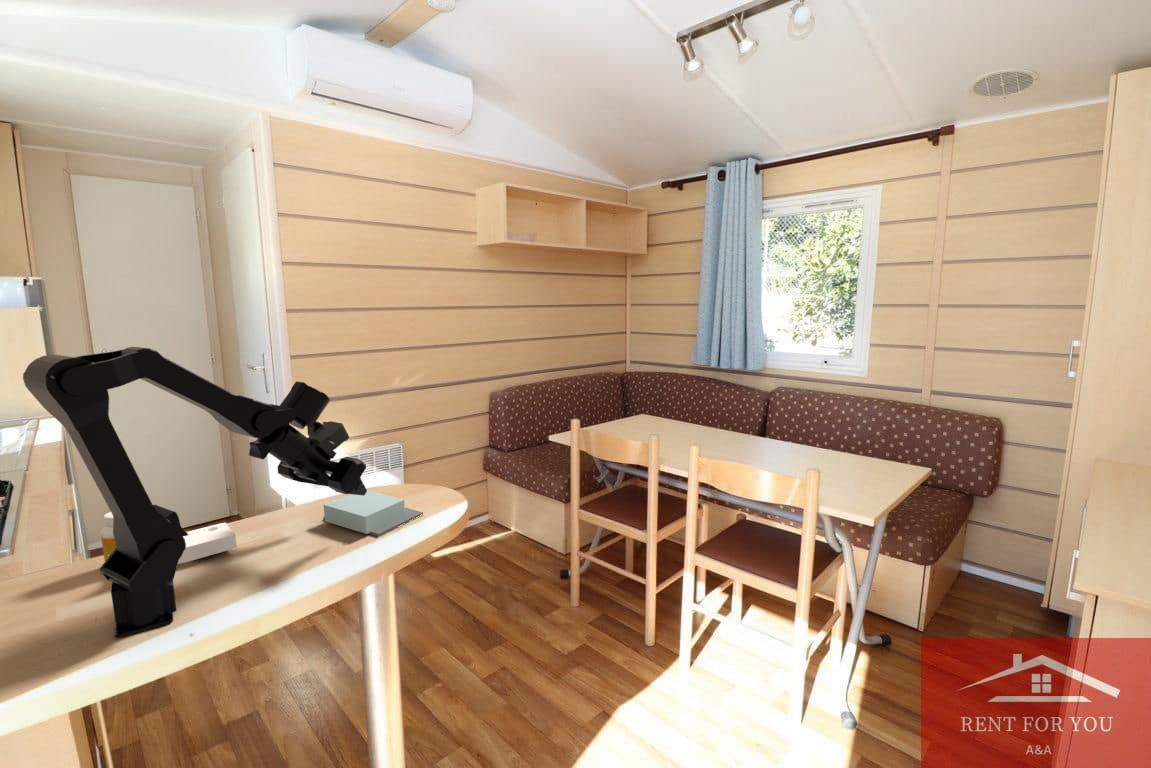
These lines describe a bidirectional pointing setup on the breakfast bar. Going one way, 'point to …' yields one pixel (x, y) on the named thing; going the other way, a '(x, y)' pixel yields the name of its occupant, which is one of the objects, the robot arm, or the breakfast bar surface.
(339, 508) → the grey-green slab
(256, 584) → the breakfast bar surface
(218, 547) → the white box
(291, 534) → the breakfast bar surface
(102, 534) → the supplement bottle
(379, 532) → the mat
